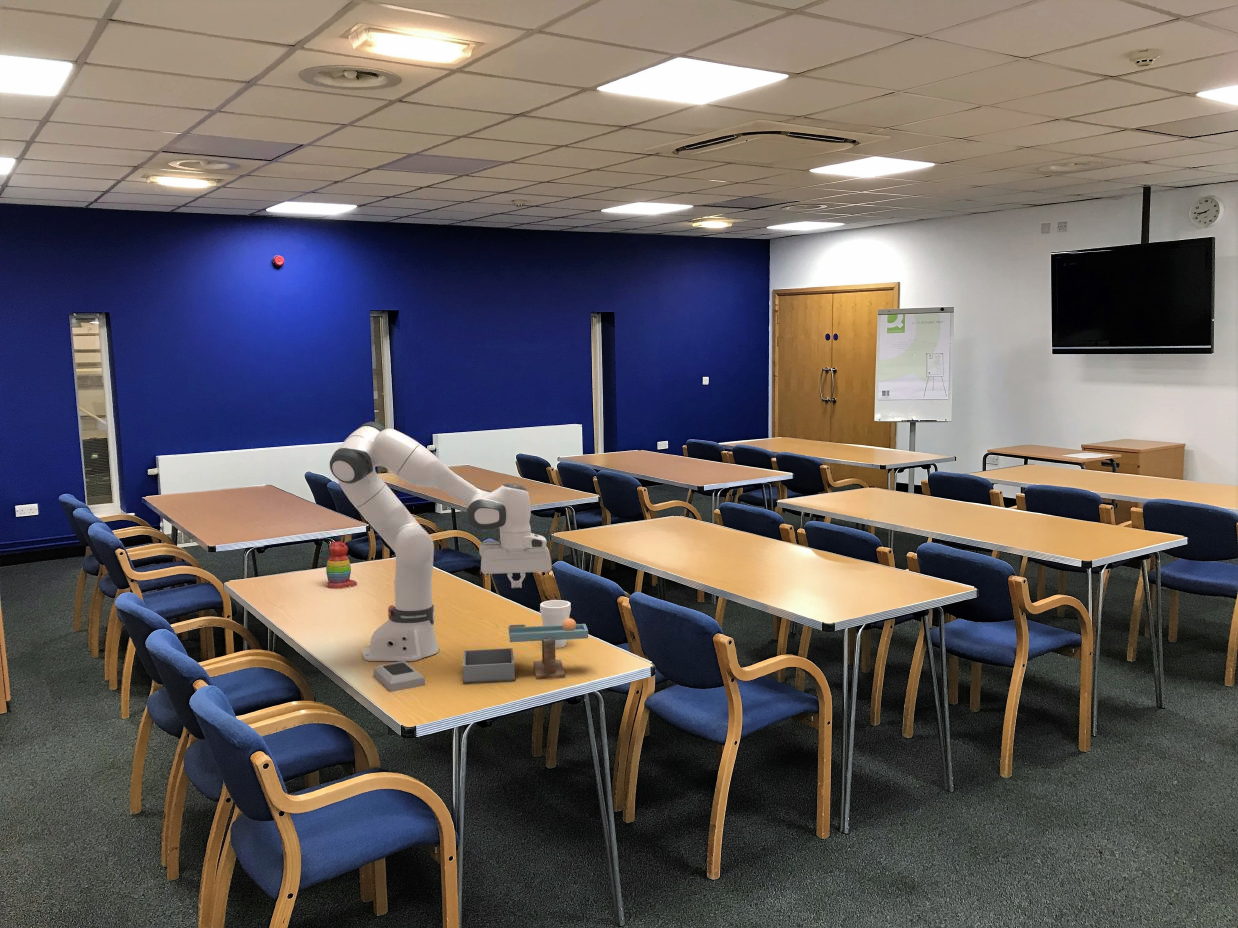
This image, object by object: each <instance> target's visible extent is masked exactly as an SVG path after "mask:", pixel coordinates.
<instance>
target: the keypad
mask: <svg viewBox="0 0 1238 928" xmlns="http://www.w3.org/2000/svg"><path fill="white" fill-rule="evenodd" d="M373 676H374V678H376V679H377V680H378V681H379V682H380V683H381V684H382V685H383V686H384V687H385V688H386V689H387V690H388V691H389V692H392V693H393V692H395V691H400V690H401V691H402V690H406V689H411V688H416V687H422V686H425V685H426V682H425V680H426V679H425V676H423V675H422V674H421V673H420V672H419V671H417V670H416V669H415V668H414V667H413V666H411V665H410V663H408V662H407V661H394V662H391V663H384V664H379V665H377V666H376V667H374V668H373Z"/></svg>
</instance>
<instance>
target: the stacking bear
mask: <svg viewBox="0 0 1238 928" xmlns="http://www.w3.org/2000/svg"><path fill="white" fill-rule="evenodd" d="M348 552H349V548H348V545H346V543H345V542H342V541H331V542H330V546H329V554H330V556H329V557H328V559H327V562H326V567H325V568H326V569H325V571H326V572H325V573H326V577H327V581H328V582H327V588H328V587H329V589H332V588H340V589H344V588H343V587H348V588H350V587H349V586H353V587H355V586H354V585H356V586H357V585H358V582H357V581H356V580H354V579H351V574H352V567H351V562H350V560H349V557H348V555H347V554H348Z"/></svg>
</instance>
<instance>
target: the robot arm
mask: <svg viewBox="0 0 1238 928" xmlns="http://www.w3.org/2000/svg"><path fill="white" fill-rule="evenodd" d="M376 467H384V468H385V469H387V470H389V471H390V472H391V473H393V474H394V475H396V477H398V478H400V479H401V480H403V481H405V482H406V483H408V484H410V485H413V486H415V487H416V488H432V489H437V490H440V491H442V492H444V493H445V494H447V495H449V496H451V497H452V498H453V499H455V500H457V501H458V502H460V503H461V504H463V505H464V506H465V507H466V513H465V516H466V520H467V523H468V524H469V525H470V526H471V527H472V528H473V529H475V530H477V531H484V532H485V531H490V530H493V529H499V536H500V537H499V538H500V539H499V540H493V541H484V542H482V543H481V544H480V545H479V547H478V549H479V550H478V552H479V556H480V557H481V561H480V572H481V573H482V574H483V575H493V574H494V575H495V574H496V575H497V574H507V575H506V576H507V578H508V580H509V581H510V583H511V584H510V585H511V589H519V588H520V589H522V587H523V586H522V585H523V584H522V582H523V581H524V579H525V578H526V573H543V572H544V573H545V572H546V573H547V572H550V571H551V570H552V558H551V554H550V550H549V548H548V546H547V542H548V541H547V539H546V538H545V536H543V535H540V534H536V533H532V526H531V524H530V520H531V516H532V515H531V514H532V512H531V499H530V494H529V491H528V489H527V488H525V487H524V486H523V485H520V484H515V483H504V484H502V485H501V486H499V487H498V488H496V489H495V490H488V489H483V488H480V487H478V486H476V485H474V484H473V483H471V482H470V481H468V480H467V479H465V478H464V477H462V476H461V475H459V474H458V473H456V472H454V471H453V470H451V469H450V468H449V466H447V465H446V464H445V463H444V462H442V461H441V460H440V458H438V457H437V456H436V455H434V453H433V452H431V451H430V450H429V449H428V448H426V447H425V446H423V445H422V444H421V443H419V442H418V441H417V440H416V439H414V438H412V437H410V436H409V435H406V434H405V433H402V432H400V431H398V430H396V429H394V428H386V427H385V426H384V425H382V424H380V423H379V422H375V421H369V422H368V421H367V422H365V423H363V424H361V425H360V426H359V427H357V429H356V430H355V431H353V432H352V433H351V434H349V436H348V437H346V438H345V440H344V441H343V442H342V444H341V445H340V446H339V448H337V449H336V450H335V451H334V452H333V454H332V456H331V457H330V460H329V469H330V472H331V474H332V475H333V476H334V478H336V479H337V481H338V485H339V486H340V488H341V490H342V491H343V492H344V495H345V496H346V497H347V499H348V500H349V502H350V503H351V504H352V506H354V508H355V509H356V510H357V511H358V512H359V513H360V514H361V516H362V517H363V518H364V519H365V520H366V521H367V522H368V524H369V525H370V526H371V527H372V528H373V529H374V531H375V532H376V533H377V534H378V535H379V536H380V537H381V538H382V539H383V540H384V542H385V543H386V544H387V545H388V546H389V547H390V549H391V550H392V551H393V552H394V555H395V575H394V582H393V583H394V587H393V588H394V605H393V604H390V605H389V606H388V608H387V611H388V612H387V614H388V615H387V616H388V619H387V621H385V622H384V623H383V624H381V625H379V627H378V628H376V630H374V631H373V633H372V635H371V638H370V643H369V645H368V646H366V647H365V648H364V650H363V652H362V659H364V661H368V662H369V661H370V662H371V661H372V662H375V661H376V662H400V661H405V662H416V661H418V660H421V659H422V658H426V657H430V656H433V655H435V654H437V653H438V652H439V651H440V647H439V644H438V641H437V637H436V633H435V627H434V623H435V621H436V620H435V608H434V606H435V605H434V604H433V588H432V587H433V584H432V583H433V582H432V580H433V579H432V578H433V568H434V555H435V554H434V551H435V545H434V540H433V537H432V536H431V535H430V533H428V532H427V531H426V530H425V529H424V528H423V527H422V525H420V523H419V522H418V521H417V520H416V519H415V517H414V516H413V515H412V514H411V512H410V511H409V510H408V509H407V507H406V506H405V505H404V504H403V503H402V502H401V500H400V499H399V498H398V497H397V495H396V494H395V493H394V492H393V491H392V489H390V487H389V486H388V485H387V484H386V482H385V481H384V480H383V479H382V478H381V477H380V475H379V474H378V473H377V471H376ZM514 573H515V574H520V578H519V579H518V580H514V579H513V578H512V577H513V574H514Z"/></svg>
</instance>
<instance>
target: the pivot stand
mask: <svg viewBox="0 0 1238 928" xmlns="http://www.w3.org/2000/svg"><path fill="white" fill-rule="evenodd" d="M541 654H542V655H541V656H542V657H541V658H542V659H540V660H533V668H534V674H535V679H536V680H546V679H560V678H561V679H563V678H566V673H565V669H564V666H563V661H562V659H560V658H559V659H556V648H555V639H552V638H548V639H544V641H541Z"/></svg>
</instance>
